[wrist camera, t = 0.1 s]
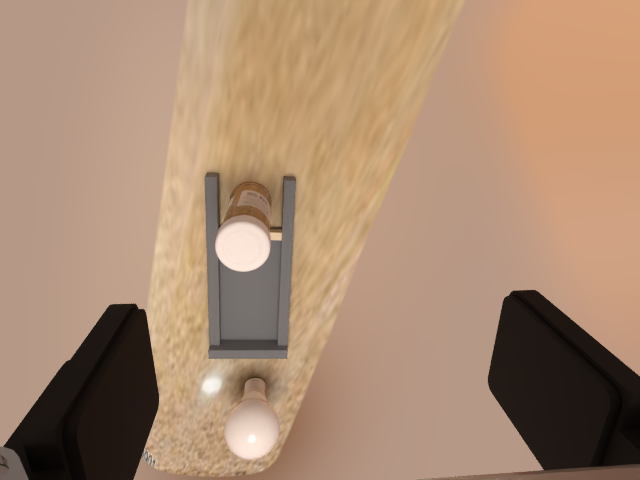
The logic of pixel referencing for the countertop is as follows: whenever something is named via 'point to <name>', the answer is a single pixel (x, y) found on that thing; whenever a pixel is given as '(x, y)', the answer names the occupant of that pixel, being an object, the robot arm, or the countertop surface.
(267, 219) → the sprinkles bottle
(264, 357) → the tray
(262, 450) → the lightbulb
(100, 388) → the robot arm
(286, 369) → the countertop surface
